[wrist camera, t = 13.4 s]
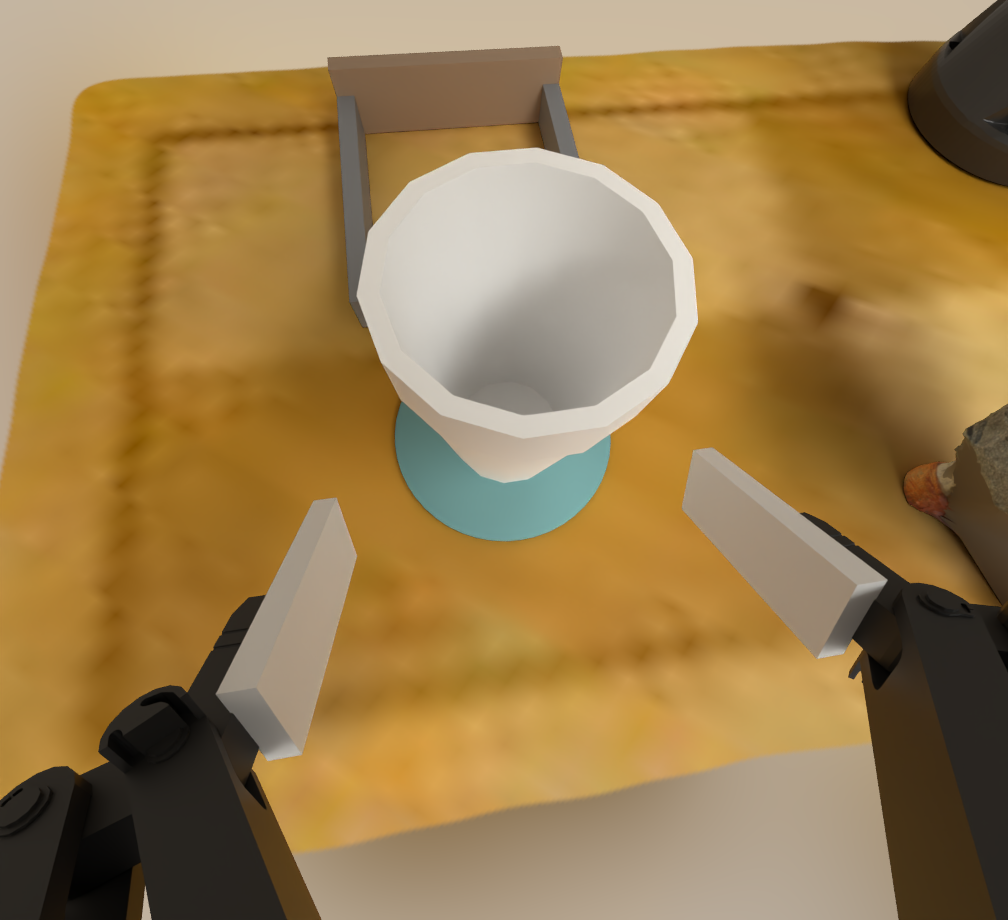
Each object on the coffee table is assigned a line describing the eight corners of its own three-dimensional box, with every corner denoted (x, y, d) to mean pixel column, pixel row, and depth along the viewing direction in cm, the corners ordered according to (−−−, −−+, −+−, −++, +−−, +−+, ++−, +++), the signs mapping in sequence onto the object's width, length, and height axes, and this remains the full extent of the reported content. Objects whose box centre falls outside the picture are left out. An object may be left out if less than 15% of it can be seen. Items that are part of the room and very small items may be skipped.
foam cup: (485, 541, 21) (483, 511, 9) (398, 413, 23) (294, 237, 11) (615, 449, 23) (766, 315, 11) (525, 336, 25) (564, 107, 12)
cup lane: (550, 110, 31) (559, 45, 27) (599, 302, 26) (618, 257, 23) (348, 123, 30) (327, 57, 26) (362, 327, 25) (340, 284, 21)
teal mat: (584, 329, 26) (585, 326, 25) (630, 522, 22) (633, 521, 22) (388, 351, 25) (386, 348, 24) (406, 558, 21) (405, 558, 21)
